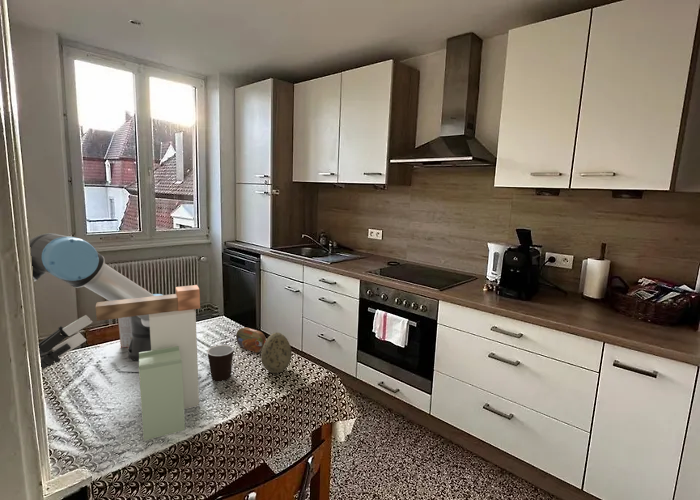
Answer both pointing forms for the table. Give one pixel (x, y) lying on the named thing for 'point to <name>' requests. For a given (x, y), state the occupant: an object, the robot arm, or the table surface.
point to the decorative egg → (276, 353)
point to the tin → (250, 339)
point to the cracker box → (125, 331)
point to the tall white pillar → (182, 333)
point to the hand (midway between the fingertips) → (86, 326)
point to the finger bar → (150, 304)
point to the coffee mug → (220, 362)
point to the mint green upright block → (161, 392)
